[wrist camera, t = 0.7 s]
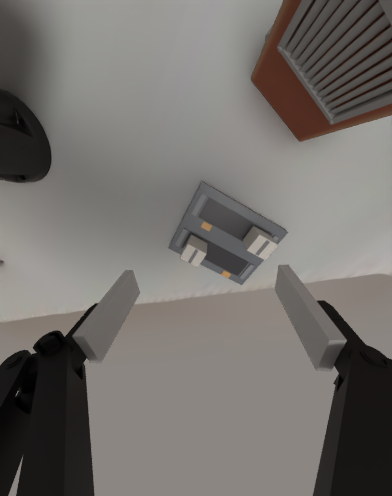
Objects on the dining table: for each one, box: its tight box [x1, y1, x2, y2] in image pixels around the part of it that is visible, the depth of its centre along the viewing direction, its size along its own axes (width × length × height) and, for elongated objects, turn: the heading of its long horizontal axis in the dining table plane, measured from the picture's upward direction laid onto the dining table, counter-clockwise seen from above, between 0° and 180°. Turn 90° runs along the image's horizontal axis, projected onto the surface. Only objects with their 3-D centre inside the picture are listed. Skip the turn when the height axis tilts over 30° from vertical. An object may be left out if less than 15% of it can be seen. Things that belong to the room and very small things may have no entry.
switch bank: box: [169, 181, 288, 285], centre depth 35 cm, size 20×16×2 cm
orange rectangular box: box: [251, 0, 392, 141], centre depth 15 cm, size 21×7×15 cm
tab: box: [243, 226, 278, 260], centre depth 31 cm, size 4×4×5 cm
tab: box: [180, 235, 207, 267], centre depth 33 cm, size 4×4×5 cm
